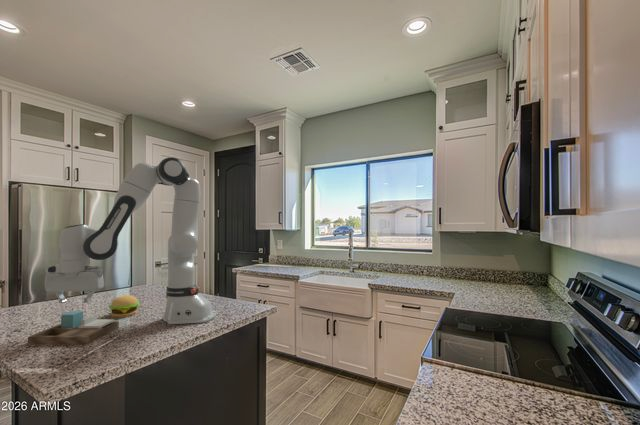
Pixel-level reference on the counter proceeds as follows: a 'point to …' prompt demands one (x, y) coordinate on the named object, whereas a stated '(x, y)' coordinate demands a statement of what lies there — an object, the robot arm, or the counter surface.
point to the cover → (94, 322)
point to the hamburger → (124, 306)
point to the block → (71, 319)
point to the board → (71, 335)
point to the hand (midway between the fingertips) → (75, 302)
